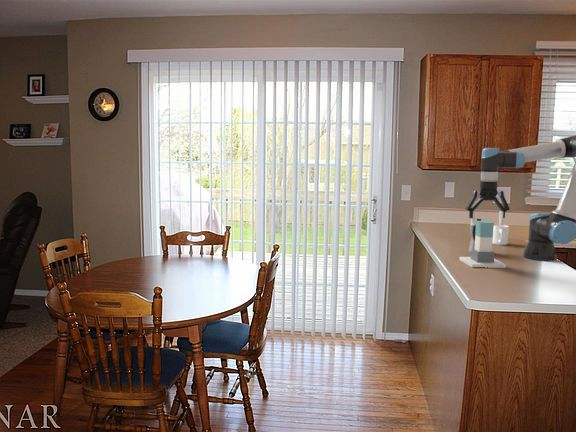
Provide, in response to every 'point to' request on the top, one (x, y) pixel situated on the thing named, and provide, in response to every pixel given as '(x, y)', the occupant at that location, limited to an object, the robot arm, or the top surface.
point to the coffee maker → (473, 236)
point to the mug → (500, 234)
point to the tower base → (490, 265)
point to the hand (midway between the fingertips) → (486, 225)
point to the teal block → (484, 228)
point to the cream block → (483, 244)
